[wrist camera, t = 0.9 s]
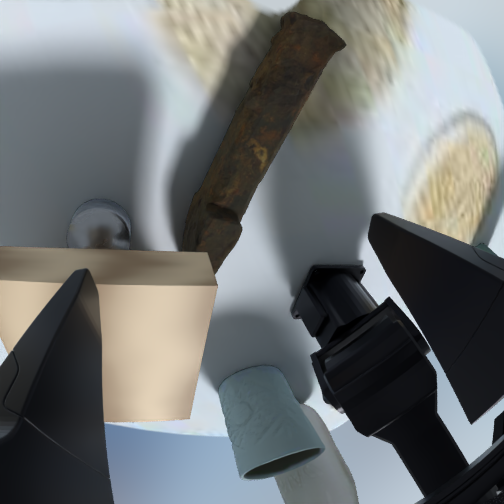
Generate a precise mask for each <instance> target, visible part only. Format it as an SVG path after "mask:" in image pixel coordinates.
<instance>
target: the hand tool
mask: <svg viewBox="0 0 504 504" xmlns="http://www.w3.org/2000/svg"><path fill="white" fill-rule="evenodd" d="M281 27H282V29H281V31H280V32H278V33H277V34H276V35H275V36H274V37H273V38H272V39H271V43H272V46H271V48H270V50H269V52H268V53H267V55H266V56H265V58H264V60H263V62H262V63H261V64H260V65H259V67H258V69H257V71H256V73H255V75H254V77H253V78H252V80H251V82H250V88H249V90H248V92H247V94H246V96H245V97H244V99H243V101H242V103H241V104H240V106H239V107H238V108H237V110H236V112H235V116H234V118H233V120H232V122H231V124H230V126H229V128H228V131H227V133H226V135H225V137H224V139H223V141H222V143H221V145H220V147H219V150H218V152H217V154H216V156H215V158H214V160H213V162H212V164H211V167H210V169H209V171H208V173H207V175H206V177H205V179H204V182H203V184H202V186H201V188H200V189H199V191H198V192H197V193H195V195H194V197H193V200H192V203H191V205H190V209H189V212H188V215H187V219H186V222H185V223H186V226H185V230H184V238H183V244H182V252H207V253H208V256H209V260H210V263H211V266H212V269H213V272H214V275H215V274H216V273H217V271H218V269H219V268H220V266H221V265H222V263H223V261H224V260H225V258H226V257H227V256H228V254H229V253H230V252H231V250H232V249H233V248H234V246H235V245H236V243H237V241H238V240H239V237H240V235H241V232H242V226H241V224H240V222H241V219H242V217H243V215H244V214H245V212H246V210H247V208H248V205H249V203H250V201H251V199H252V197H253V195H254V193H255V190H256V188H257V186H258V184H259V183H260V182H261V180H262V179H263V178H264V176H265V174H266V172H267V170H268V168H269V166H270V164H271V163H272V161H273V159H274V158H275V156H276V154H277V152H278V151H279V149H280V147H281V146H282V144H283V142H284V140H285V138H286V136H287V135H288V133H289V131H290V130H291V128H292V126H293V124H294V122H295V120H296V118H297V117H298V115H299V113H300V111H301V109H302V108H303V106H304V104H305V102H306V101H307V99H308V97H309V95H310V93H311V91H312V90H313V88H314V86H315V84H316V82H317V80H318V79H319V77H320V75H321V74H322V71H323V69H324V68H325V67H326V65H327V63H328V61H329V60H330V59H331V57H332V56H333V55H334V53H335V52H337V51H340V50H342V49H343V48H344V47H345V46H346V44H345V42H344V40H343V39H342V38H340V37H339V36H338V35H337V34H336V33H335V32H334V31H333V30H331V29H330V28H329V27H328V26H327V25H326V24H325V23H324V22H323V21H320V20H316V19H313V18H310V17H308V16H307V15H302V14H299V13H297V12H288V13H286V14H285V15H284V16H282V17H281Z"/></svg>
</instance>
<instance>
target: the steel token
mask: <svg viewBox="0 0 504 504" xmlns="http://www.w3.org/2000/svg"><path fill="white" fill-rule="evenodd" d="M130 234H131V224H130V219H129V217H128V215H127V213H126V212H125V210H124V209H123V208H122V207H121V206H120V205H118V204H117V203H115V202H113V201H110V200H106V199H94V200H90V201H87V202H85V203H84V204H82V205H81V206H80V207H79V208H78V209H77V210H76V212H75V213H74V215H73V218H72V221H71V223H70V226H69V229H68V232H67V245H68V248H74V249H107V250H129V247H130Z"/></svg>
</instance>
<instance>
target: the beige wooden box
mask: <svg viewBox="0 0 504 504" xmlns="http://www.w3.org/2000/svg"><path fill="white" fill-rule="evenodd" d="M83 268H87V269H89V271H90V273H91V275H92V277H93V280H94V282H95V285H96V287H97V289H98V293H99V304H100V319H101V332H102V387H103V411H104V422H150V421H170V420H184V419H190V415H191V410H192V405H193V400H194V395H195V390H196V385H197V380H198V376H199V371H200V366H201V361H202V356H203V352H204V347H205V342H206V338H207V333H208V329H209V324H210V319H211V315H212V310H213V306H214V301H215V297H216V292H217V288H218V284H217V281H216V278H215V275H214V272H213V269H212V266H211V263H210V260H209V256H208V253H207V252H174V251H140V250H107V249H74V248H42V247H11V246H0V337H1V340H2V342H3V344H4V346H5V348H6V351H7V353H8V355H9V353H10V352H11V351H13V348H14V346H15V345H16V343H17V342H18V341H19V339H20V338H21V337H22V335H23V334H24V333H25V331H26V330H27V329H28V327H29V326H30V325H31V323H32V322H33V321H34V319H35V318H36V317H37V316H38V314H39V313H40V312H41V310H42V309H43V308H44V307H45V305H46V304H47V303H48V302H49V300H50V299H51V298H52V297H53V296H54V294H55V293H56V292H57V291H58V289H59V288H60V287H61V286H62V285H63V284H64V282H65V281H66V280H67V279H68V278H69V277H70V275H71V274H72V273H73V272H74V271H75V270H78V269H83Z"/></svg>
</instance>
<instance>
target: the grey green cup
mask: <svg viewBox="0 0 504 504" xmlns="http://www.w3.org/2000/svg"><path fill="white" fill-rule="evenodd" d="M219 398H220V403H221V407H222V411H223V414H224V417H225V424H226V427H227V432H228V436H229V438H230V440H231V442H232V448H233V450H234V455H235V460H236V464H237V468H238V472H239V476H240V478H241V479H242V480H246V481H252V480H260V479H265V478H270V477H273V476H277V475H280V474H283V473H286V472H288V471H291V470H293V469H296V468H298V467H300V466H303V465H305V464H307V463H308V462H310V461H312V460H314V459H315V458H317V457H318V456H320V455H321V454H322V453H323V452H324V451H325V445H324V444H323V442H322V441H321V439H320V437H319V436H318V434H317V432H316V431H315V429H314V427H313V425H312V424H311V422H310V421H309V419H308V418H307V417H306V415H305V414H304V412H303V410H302V409H301V407H300V404H299V402H298V401H297V400H296V399H295V398H294V395H293V393H292V390H291V388H290V386H289V384H288V382H287V381H286V379H285V377H284V375H283V373H282V372H281V371H280V370H279V369H278V368H276V367H274V366H266V365H265V366H262V365H260V366H257V367H255V366H254V367H250V368H247V369H244V370H241V371H239V372H237V373H235V374H233V375H231V376H229V377H228V378H227V379H225V380H224V381H223V382H222V384H221V385H220V387H219Z"/></svg>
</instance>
